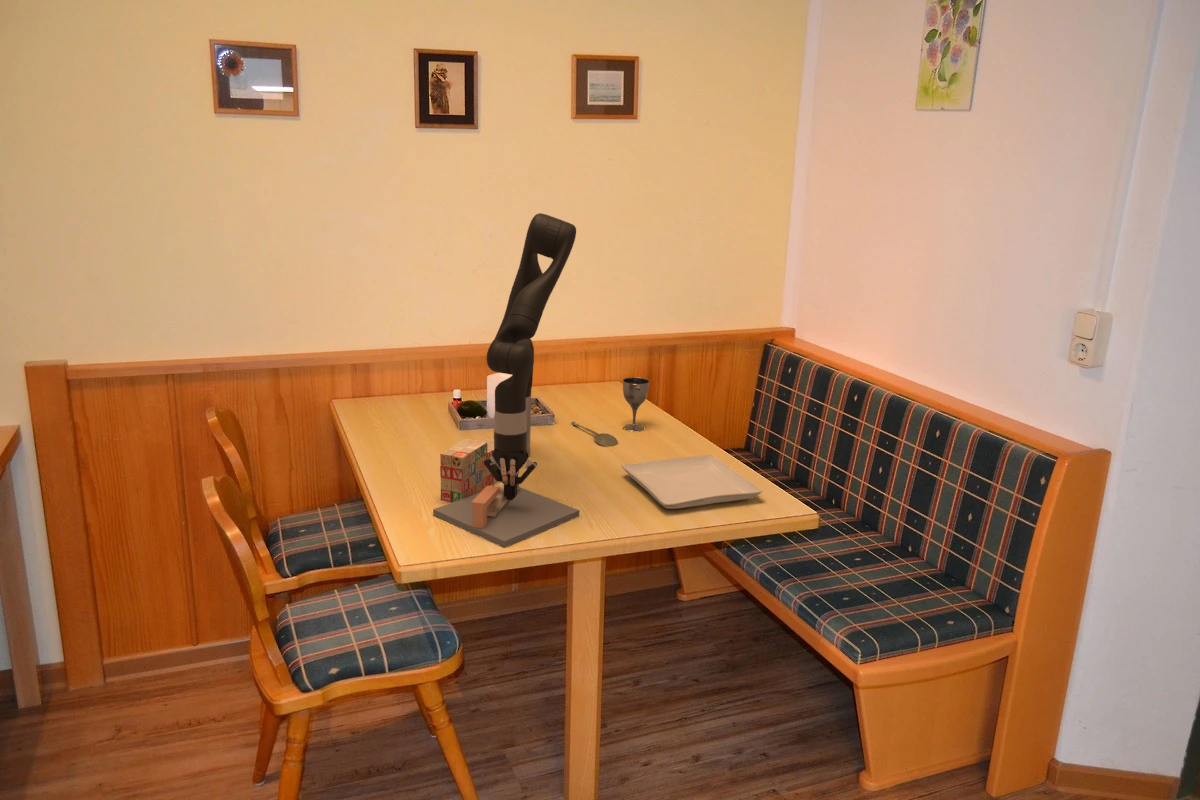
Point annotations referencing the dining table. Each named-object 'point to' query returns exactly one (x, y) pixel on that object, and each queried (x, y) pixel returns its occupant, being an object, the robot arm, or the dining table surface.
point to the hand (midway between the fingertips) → (510, 498)
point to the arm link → (498, 502)
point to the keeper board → (506, 515)
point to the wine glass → (635, 397)
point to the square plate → (691, 481)
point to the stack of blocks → (465, 469)
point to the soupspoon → (601, 437)
